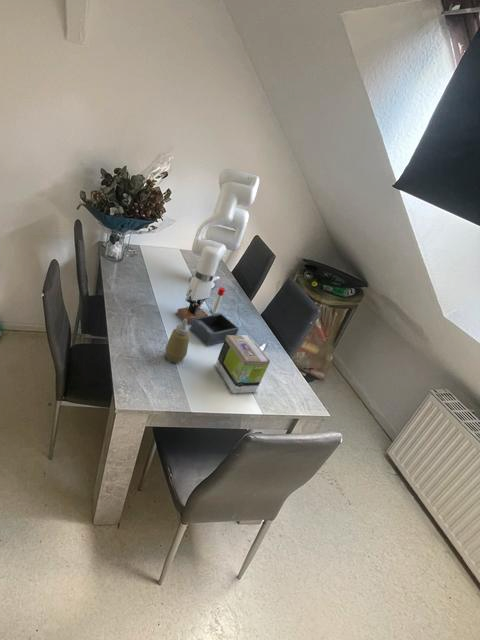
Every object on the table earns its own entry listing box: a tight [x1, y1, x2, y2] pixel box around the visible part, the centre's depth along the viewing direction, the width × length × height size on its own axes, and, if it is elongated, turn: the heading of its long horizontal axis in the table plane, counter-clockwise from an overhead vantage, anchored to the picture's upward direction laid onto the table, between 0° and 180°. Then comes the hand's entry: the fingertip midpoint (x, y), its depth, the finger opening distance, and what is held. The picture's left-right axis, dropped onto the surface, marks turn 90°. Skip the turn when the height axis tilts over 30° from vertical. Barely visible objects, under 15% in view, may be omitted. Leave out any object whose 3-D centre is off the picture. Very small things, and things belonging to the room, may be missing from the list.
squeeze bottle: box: [165, 319, 191, 364], centre depth 141 cm, size 8×8×18 cm
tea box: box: [215, 334, 271, 394], centre depth 138 cm, size 15×10×15 cm, turn 12°
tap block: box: [176, 305, 209, 325], centre depth 172 cm, size 11×10×3 cm
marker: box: [211, 286, 226, 315], centre depth 177 cm, size 3×3×13 cm
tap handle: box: [188, 303, 202, 315], centre depth 170 cm, size 6×2×5 cm, turn 28°
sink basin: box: [189, 312, 239, 347], centre depth 163 cm, size 16×12×6 cm
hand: (193, 311), depth 171 cm, fingers closed
